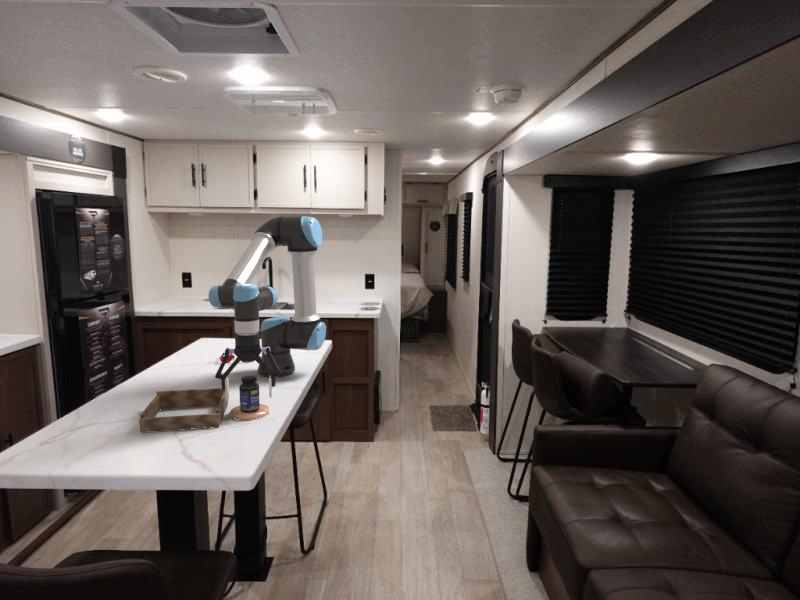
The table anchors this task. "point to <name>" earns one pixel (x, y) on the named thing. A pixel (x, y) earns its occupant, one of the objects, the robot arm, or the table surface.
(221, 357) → the glasses
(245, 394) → the pill bottle
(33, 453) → the table surface
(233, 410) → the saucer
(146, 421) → the frame
